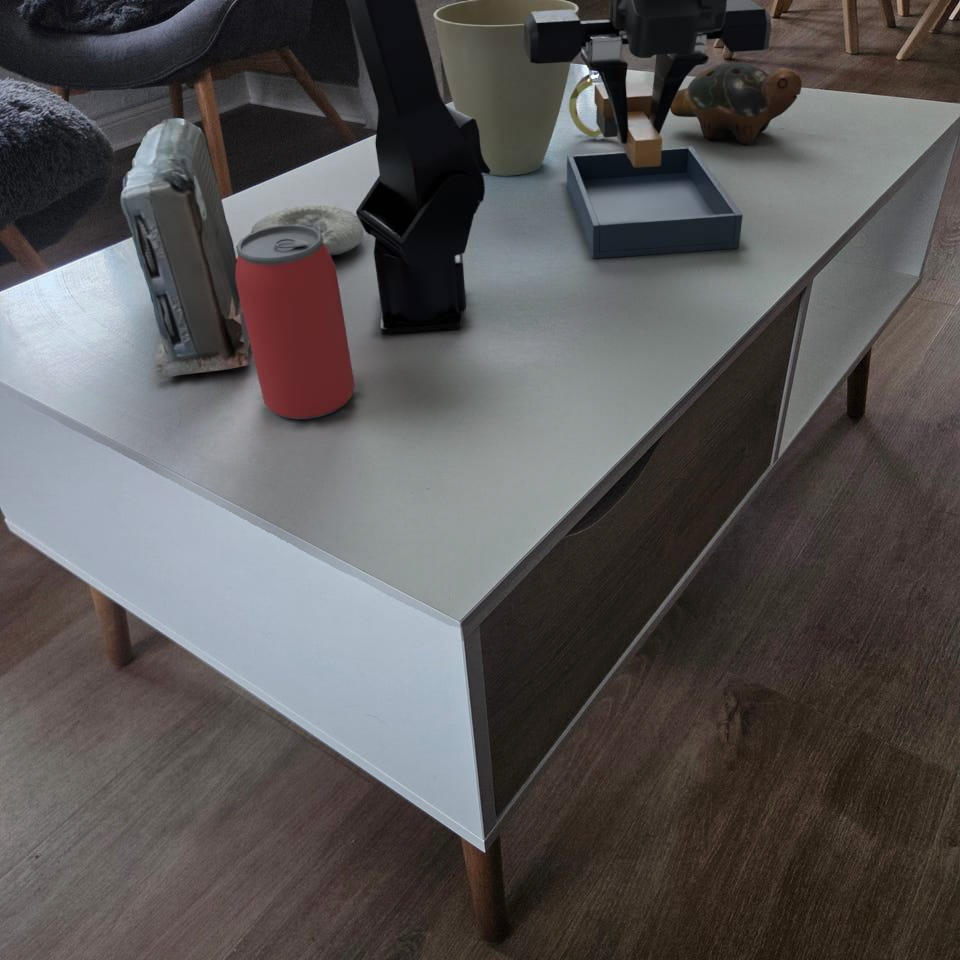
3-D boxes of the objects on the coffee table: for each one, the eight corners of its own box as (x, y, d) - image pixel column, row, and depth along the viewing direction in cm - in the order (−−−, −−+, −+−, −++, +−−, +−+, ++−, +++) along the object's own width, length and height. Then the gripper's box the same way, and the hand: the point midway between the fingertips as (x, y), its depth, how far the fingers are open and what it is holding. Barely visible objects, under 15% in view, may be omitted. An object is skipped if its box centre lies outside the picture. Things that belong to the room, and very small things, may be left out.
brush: (676, 165, 76) (679, 122, 74) (618, 168, 76) (620, 126, 74) (644, 119, 86) (647, 80, 84) (593, 122, 86) (594, 84, 84)
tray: (592, 259, 83) (593, 225, 81) (566, 184, 98) (566, 155, 97) (738, 248, 83) (742, 215, 81) (690, 175, 99) (692, 146, 97)
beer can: (339, 427, 64) (310, 264, 56) (250, 420, 65) (210, 260, 58) (367, 377, 69) (343, 222, 62) (284, 372, 70) (251, 220, 63)
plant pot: (540, 196, 96) (537, 29, 87) (420, 178, 102) (405, 21, 93) (599, 152, 106) (602, -2, 97) (486, 138, 113) (479, -8, 103)
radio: (186, 260, 88) (142, 97, 79) (277, 252, 88) (244, 88, 79) (134, 388, 70) (69, 193, 60) (249, 377, 70) (202, 182, 61)
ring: (631, 136, 110) (634, 64, 105) (624, 144, 108) (627, 71, 103) (574, 133, 112) (575, 62, 107) (567, 141, 110) (567, 69, 105)
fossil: (279, 240, 80) (220, 226, 87) (290, 281, 82) (232, 264, 89) (378, 200, 86) (316, 190, 93) (386, 239, 88) (325, 226, 95)
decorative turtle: (788, 153, 102) (792, 78, 97) (656, 149, 109) (654, 78, 104) (808, 123, 108) (814, 51, 103) (683, 121, 115) (682, 53, 110)
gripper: (537, -49, 63) (538, 180, 72) (810, -65, 63) (776, 165, 72) (521, -69, 71) (524, 137, 81) (761, -83, 72) (736, 124, 81)
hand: (638, 141), depth 79 cm, fingers closed on brush, 2 cm apart
